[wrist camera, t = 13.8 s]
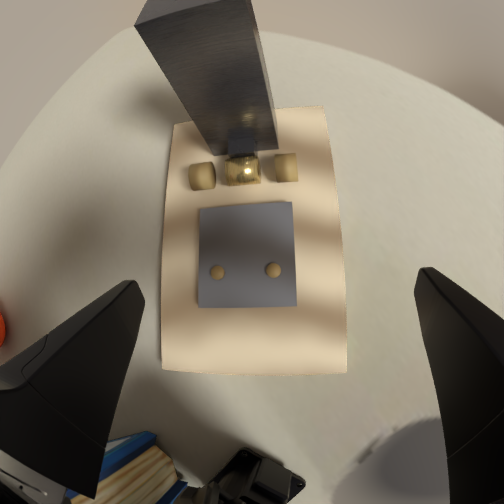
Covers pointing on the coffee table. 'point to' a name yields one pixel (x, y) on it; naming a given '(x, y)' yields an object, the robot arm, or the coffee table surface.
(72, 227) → the coffee table surface
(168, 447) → the coffee table surface
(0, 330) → the clementine
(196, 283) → the board
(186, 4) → the grey block
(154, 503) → the book
